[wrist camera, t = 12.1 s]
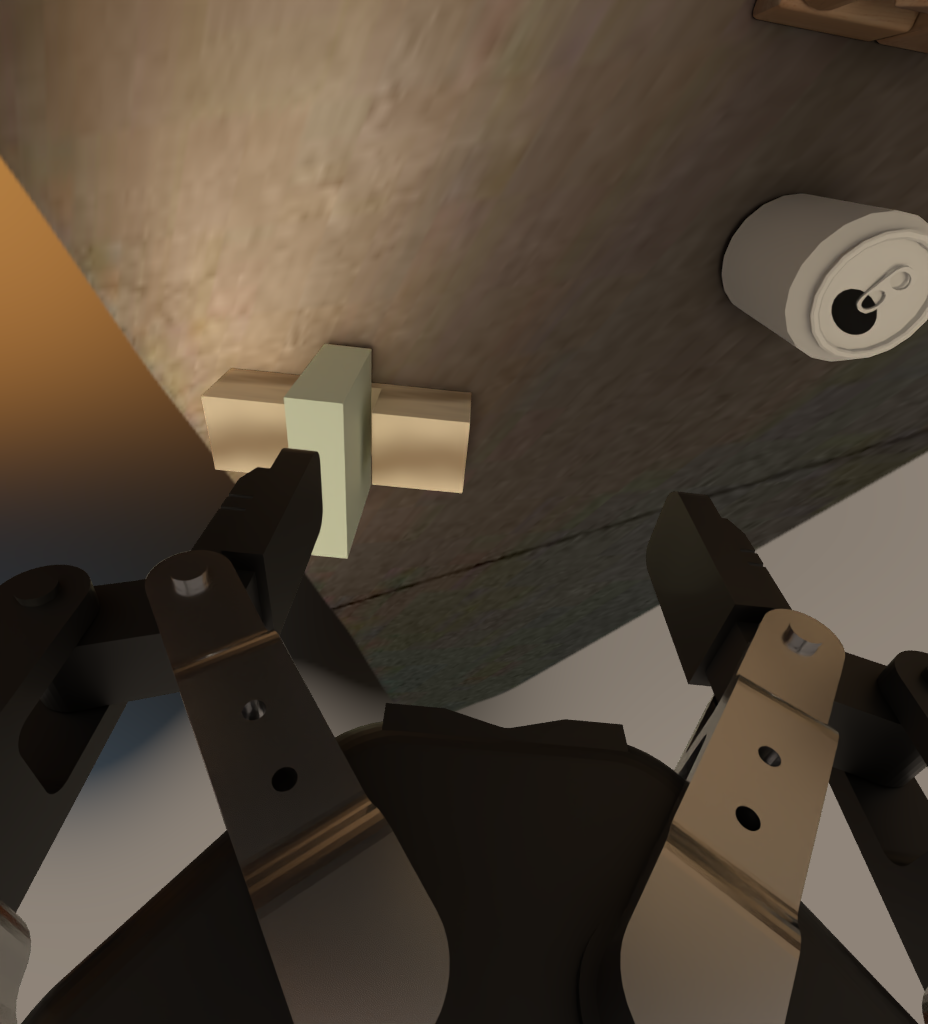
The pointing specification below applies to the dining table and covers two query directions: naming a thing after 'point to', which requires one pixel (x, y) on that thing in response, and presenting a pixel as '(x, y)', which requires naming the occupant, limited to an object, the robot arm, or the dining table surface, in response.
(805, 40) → the dining table surface
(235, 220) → the dining table surface
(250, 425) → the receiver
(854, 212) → the can
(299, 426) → the sage green tall block
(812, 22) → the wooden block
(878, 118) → the dining table surface
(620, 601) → the dining table surface
